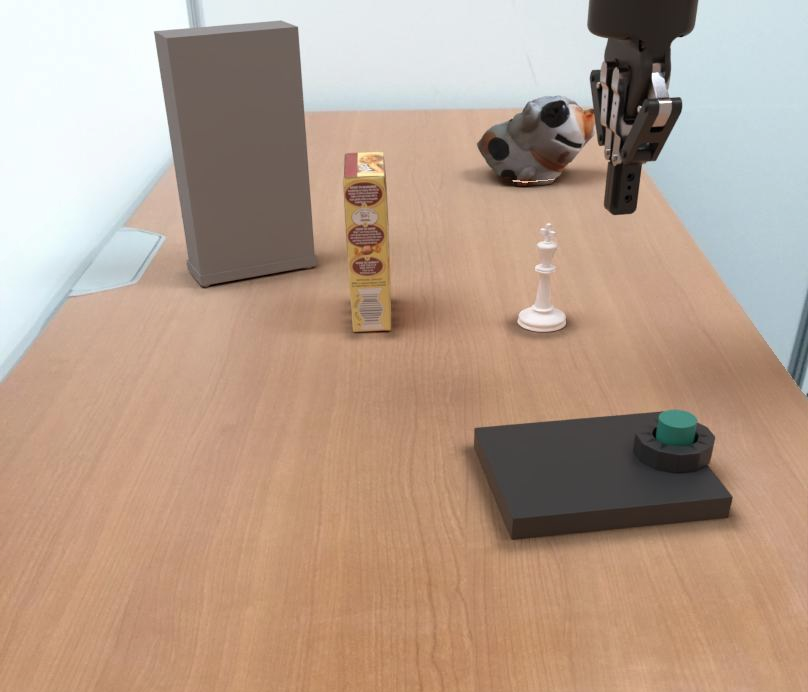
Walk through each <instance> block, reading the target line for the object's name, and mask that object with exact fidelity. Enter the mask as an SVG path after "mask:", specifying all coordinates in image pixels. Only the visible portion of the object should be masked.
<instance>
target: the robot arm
mask: <svg viewBox="0 0 808 692" xmlns="http://www.w3.org/2000/svg"><path fill="white" fill-rule="evenodd" d="M698 5H699V0H588V9H587V19H586V20H587V21H586V28H587V30H588V31H589V33H590V34H591V35H593V36H596V37H600V38H603V39H607V40H606V45H605V48H604V53H603V61H602V62H601V66H600V69H592V70H591V71H590V74H589V85H590V91H591V100H592V109H594V117H595V124H596V130H595V133H596V140H597V145H598V146H599V147H604V149H603V156H604V159H605V160H606V161H607V169H606V178H605V189H604V197H603V208H604V209H605V210H606V211H607V212H609V213H610V214H611V215H612V216H622V215H632V214H634V213H635V212H636V211H637V208H638V201H639V192H640V185H641V184H640V183H641V177H642V176H641V175H642V168H643V165H646V164H647V163H649V162H656V161H657V160H658V158H659V156H660V154H661V152H662V150H663V149H664V146H665V144H666V143H667V141H668V139H669V137H670V135H671V133H672V131H673V129H674V127H675V125H676V123H677V122H678V120H679V118H680V116H681V113H682V111H683V99H682V98H681V97H680V96H675V97H674V96H673V97H670V95H669V88H670V81H671V75H672V48H671V47H672V43H673V42H674V41H675V40H676V39H677V38H684V37H687V36H689V35H690V34H691V33H692V32H693V31H694V30H695V27H696V21H697V15H698V14H697V13H698V9H699V8H698V7H699V6H698Z"/></svg>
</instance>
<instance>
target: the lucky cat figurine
mask: <svg viewBox="0 0 808 692" xmlns="http://www.w3.org/2000/svg"><path fill="white" fill-rule="evenodd" d="M595 135H596V124H595V117H594V109H593V108H589V109H583V108H582V107H581V106H580V105H579V104H578V103H577V102H576V101H575V100H572V99H571V98H568V97H567V96H562V95H555V96H551V95H545V96H542V97H537V98H535V99H533V100H530V101H528V102H527V103H526V104H525V106H524V107H523V109H522V111H521V112H519V113H516V114H515V115H514V116H513V118H511V119H508V120H507V121H503V122H501V123H497V124H494V125H493V126H490V128H488V129H487V130H486V131H485V132H484V133H483V135H482V137H481V138H480V139H479V140H478V142H476V146H477V150H478V151H479V153H480V155H481V156H482V157H483V159H484V160H485V162H486V164H487V165H488V167H489V168H491V170H492V171H494V172H495V174H496V175H498V176H499V177H500V178H503V179H505V178H509V179H510V181H511V180H520V181H536V180H548V179H554V178H556V179H557V178H558V177H560V176H561V175H562V172H563V171H564V169H565V168H566V167H567V166H568V165H569V164H570V163H572V162H573V161H574V159H576V157H577V156H578V155H579V154H580V152H581V151H582V150H583V148H584V147H585V146H586V145H587V144H588V142H589V141H590V140H591V139H592V138H593V137H594V136H595ZM556 179H554V180H548V181H538V182H528V183H522V182H513V181H511V183H512V185H513V186H517V187H530V186H531V187H532V186H545V185H551V184H552V183H553V182H554V181H555V180H556Z"/></svg>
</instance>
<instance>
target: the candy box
mask: <svg viewBox="0 0 808 692" xmlns="http://www.w3.org/2000/svg"><path fill="white" fill-rule="evenodd" d="M342 184H343V202H344V203H343V204H344V222H345V236H346V238H345V239H346V240H345V241H346V254H347V269H348V271H347V272H348V281H349V282H348V283H349V298H350V299H349V300H350V311H351V323H352V324H351V325H352V332H353V333H359V332H361V333H362V332H382V331H386V332H389V331H391V330H392V292H391V291H392V290H391V287H392V286H391V284H392V283H391V255H390V226H389V225H390V224H389V207H388V205H389V203H388V189H387V187H388V186H387V173H386V163H385V153H384V152H383V151H371V152H369V151H368V152H366V151H365V152H345V153H344V157H343V177H342Z"/></svg>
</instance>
